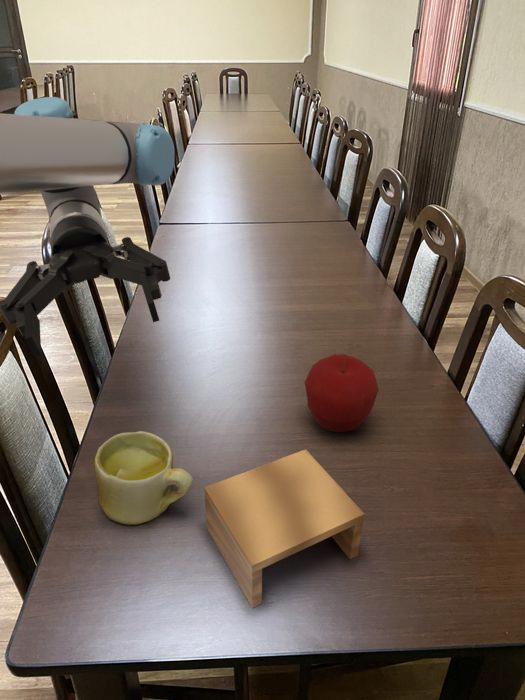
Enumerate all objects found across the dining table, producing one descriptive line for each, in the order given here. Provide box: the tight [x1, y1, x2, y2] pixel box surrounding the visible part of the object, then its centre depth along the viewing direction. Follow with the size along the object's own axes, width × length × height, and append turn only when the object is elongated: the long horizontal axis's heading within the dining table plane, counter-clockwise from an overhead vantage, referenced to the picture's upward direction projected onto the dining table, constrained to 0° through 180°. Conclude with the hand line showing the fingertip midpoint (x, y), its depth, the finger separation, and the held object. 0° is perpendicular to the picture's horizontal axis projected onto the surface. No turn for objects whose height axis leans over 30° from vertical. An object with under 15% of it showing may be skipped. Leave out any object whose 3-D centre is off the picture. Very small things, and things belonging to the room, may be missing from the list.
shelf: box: [203, 448, 365, 609], centre depth 62 cm, size 14×12×7 cm
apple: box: [304, 353, 379, 433], centre depth 80 cm, size 11×11×12 cm
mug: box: [93, 430, 194, 526], centre depth 67 cm, size 12×10×10 cm
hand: (94, 329), depth 60 cm, fingers open, 13 cm apart
